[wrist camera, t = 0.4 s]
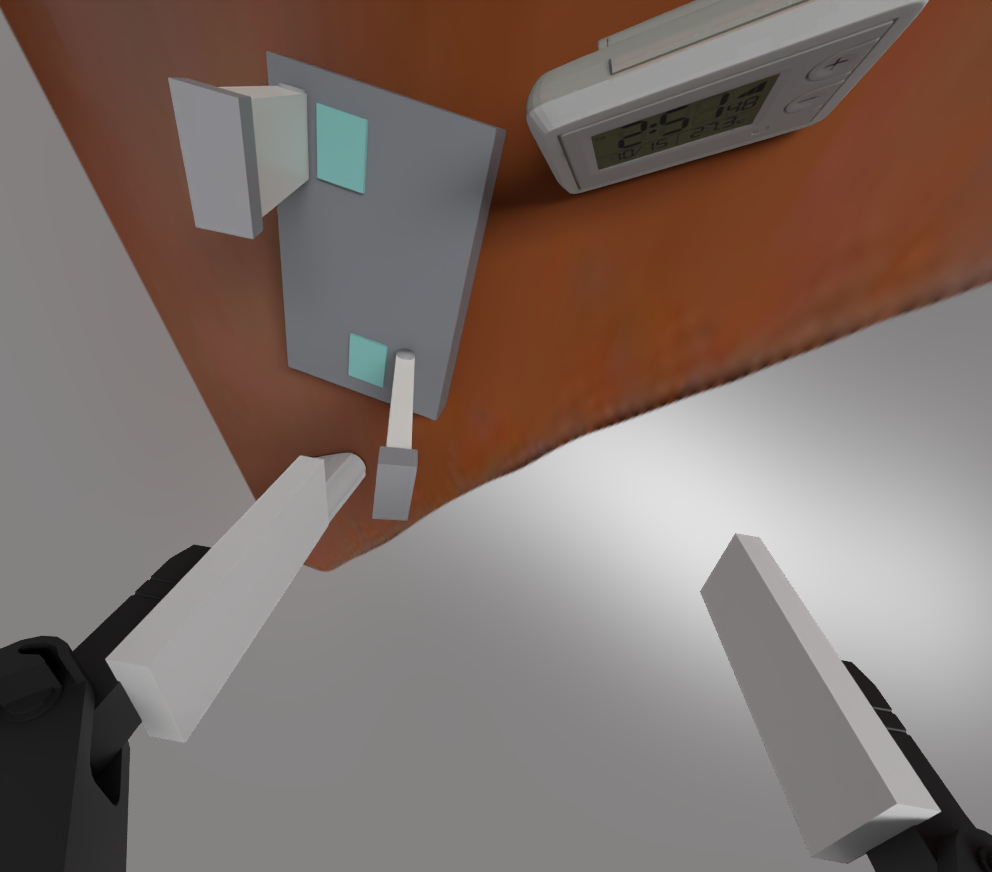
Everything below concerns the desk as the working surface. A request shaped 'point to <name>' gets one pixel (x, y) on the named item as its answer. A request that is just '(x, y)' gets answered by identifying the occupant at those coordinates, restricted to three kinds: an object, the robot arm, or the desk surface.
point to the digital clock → (705, 83)
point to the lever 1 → (240, 150)
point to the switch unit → (382, 234)
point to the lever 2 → (397, 447)
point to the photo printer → (341, 479)
